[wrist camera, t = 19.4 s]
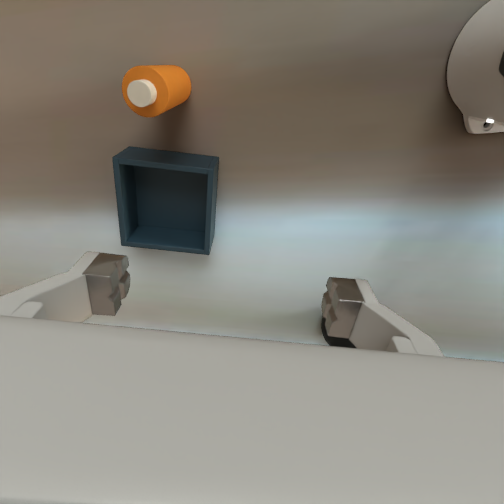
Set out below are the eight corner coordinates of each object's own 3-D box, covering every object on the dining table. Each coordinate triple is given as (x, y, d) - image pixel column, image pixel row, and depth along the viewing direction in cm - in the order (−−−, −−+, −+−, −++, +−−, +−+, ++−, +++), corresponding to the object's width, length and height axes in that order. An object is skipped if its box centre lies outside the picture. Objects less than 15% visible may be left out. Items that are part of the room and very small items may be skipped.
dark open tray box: (219, 156, 49) (213, 169, 44) (214, 235, 56) (209, 255, 51) (129, 146, 49) (112, 157, 43) (135, 227, 56) (121, 245, 50)
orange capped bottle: (191, 67, 44) (163, 69, 31) (190, 106, 46) (164, 122, 33) (155, 62, 43) (111, 62, 30) (156, 101, 46) (116, 117, 33)
